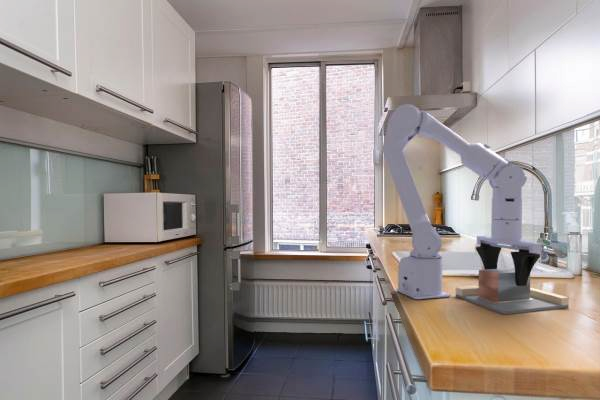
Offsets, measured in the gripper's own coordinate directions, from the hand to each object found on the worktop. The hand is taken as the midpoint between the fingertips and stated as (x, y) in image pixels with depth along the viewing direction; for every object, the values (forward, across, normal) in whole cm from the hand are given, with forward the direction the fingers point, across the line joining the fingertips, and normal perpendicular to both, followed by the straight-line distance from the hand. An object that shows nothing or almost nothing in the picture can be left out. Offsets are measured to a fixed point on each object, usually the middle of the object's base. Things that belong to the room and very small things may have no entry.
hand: (505, 281), depth 75 cm
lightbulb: (+5, +22, -16) cm, 27 cm away
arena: (+4, 0, 0) cm, 4 cm away
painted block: (+4, 0, 0) cm, 4 cm away
